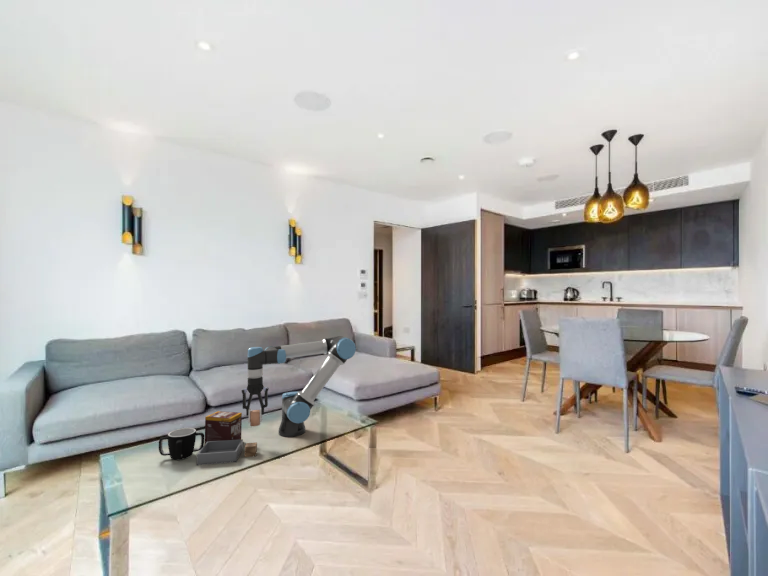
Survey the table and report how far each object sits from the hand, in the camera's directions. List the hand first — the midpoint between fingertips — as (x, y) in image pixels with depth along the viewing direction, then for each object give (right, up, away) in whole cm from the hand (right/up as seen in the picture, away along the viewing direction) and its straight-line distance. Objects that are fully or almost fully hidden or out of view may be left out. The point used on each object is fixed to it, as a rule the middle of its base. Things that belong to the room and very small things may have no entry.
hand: (255, 421), depth 190 cm
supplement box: (-18, -14, +4) cm, 23 cm away
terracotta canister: (0, -2, 0) cm, 2 cm away
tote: (-12, -13, -13) cm, 22 cm away
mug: (-32, -13, -13) cm, 37 cm away
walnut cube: (+1, -13, -10) cm, 17 cm away
